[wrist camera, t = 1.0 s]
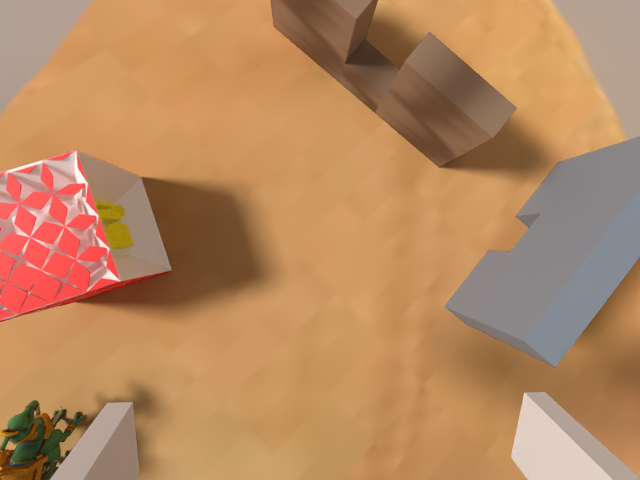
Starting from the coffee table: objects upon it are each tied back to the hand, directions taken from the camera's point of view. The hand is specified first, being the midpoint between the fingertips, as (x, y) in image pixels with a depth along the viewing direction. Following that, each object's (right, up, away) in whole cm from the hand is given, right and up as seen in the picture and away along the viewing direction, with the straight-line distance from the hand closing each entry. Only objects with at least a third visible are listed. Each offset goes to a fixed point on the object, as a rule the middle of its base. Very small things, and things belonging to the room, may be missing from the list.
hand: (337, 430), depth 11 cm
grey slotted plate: (+16, +6, +18) cm, 24 cm away
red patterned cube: (-18, +7, +16) cm, 24 cm away
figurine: (-21, -10, +15) cm, 28 cm away
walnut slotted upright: (+3, +19, +17) cm, 26 cm away
